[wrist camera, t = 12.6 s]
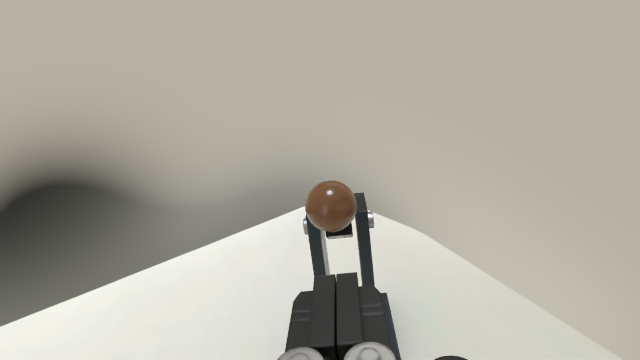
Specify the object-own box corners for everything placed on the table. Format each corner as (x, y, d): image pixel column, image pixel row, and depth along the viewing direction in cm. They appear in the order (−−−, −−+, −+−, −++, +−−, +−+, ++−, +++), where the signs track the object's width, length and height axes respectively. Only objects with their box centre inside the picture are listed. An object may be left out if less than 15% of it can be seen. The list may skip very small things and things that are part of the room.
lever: (359, 226, 23) (353, 172, 23) (304, 232, 23) (299, 178, 23) (358, 240, 35) (355, 205, 36) (323, 244, 35) (320, 209, 36)
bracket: (402, 374, 33) (391, 223, 29) (307, 381, 33) (282, 234, 29) (387, 302, 42) (377, 180, 38) (313, 308, 43) (295, 189, 39)
